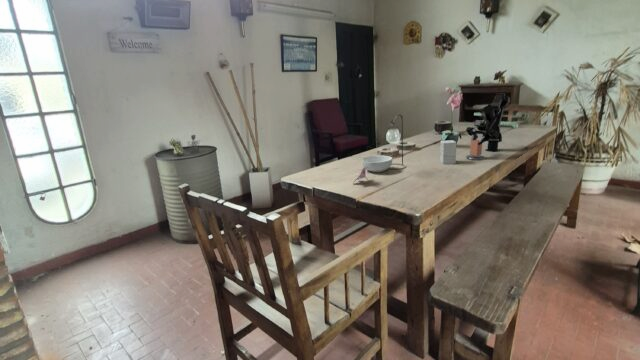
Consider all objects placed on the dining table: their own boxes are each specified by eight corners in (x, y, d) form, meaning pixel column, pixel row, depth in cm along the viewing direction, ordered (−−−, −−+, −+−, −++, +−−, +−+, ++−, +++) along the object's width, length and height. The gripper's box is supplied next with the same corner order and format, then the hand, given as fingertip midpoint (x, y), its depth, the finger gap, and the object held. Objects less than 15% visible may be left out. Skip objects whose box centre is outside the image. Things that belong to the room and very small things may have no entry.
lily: (368, 180, 179) (359, 164, 178) (382, 176, 169) (372, 160, 168) (353, 192, 173) (344, 176, 172) (367, 188, 163) (357, 172, 162)
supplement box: (452, 160, 202) (453, 139, 199) (455, 163, 195) (456, 142, 192) (439, 161, 203) (440, 140, 200) (442, 164, 196) (443, 142, 193)
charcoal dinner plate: (473, 155, 211) (473, 154, 211) (487, 158, 203) (488, 156, 202) (462, 158, 206) (462, 156, 206) (477, 161, 198) (477, 159, 198)
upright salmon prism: (474, 153, 207) (475, 139, 204) (481, 154, 203) (482, 140, 200) (469, 154, 205) (470, 140, 202) (476, 155, 201) (477, 141, 198)
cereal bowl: (374, 165, 203) (374, 153, 201) (398, 169, 192) (398, 157, 190) (356, 171, 192) (356, 159, 190) (380, 176, 181) (380, 163, 179)
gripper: (468, 113, 206) (455, 134, 204) (497, 115, 191) (484, 137, 189) (475, 125, 213) (463, 144, 210) (504, 127, 197) (491, 149, 195)
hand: (474, 144), depth 201 cm, fingers closed on upright salmon prism, 4 cm apart
